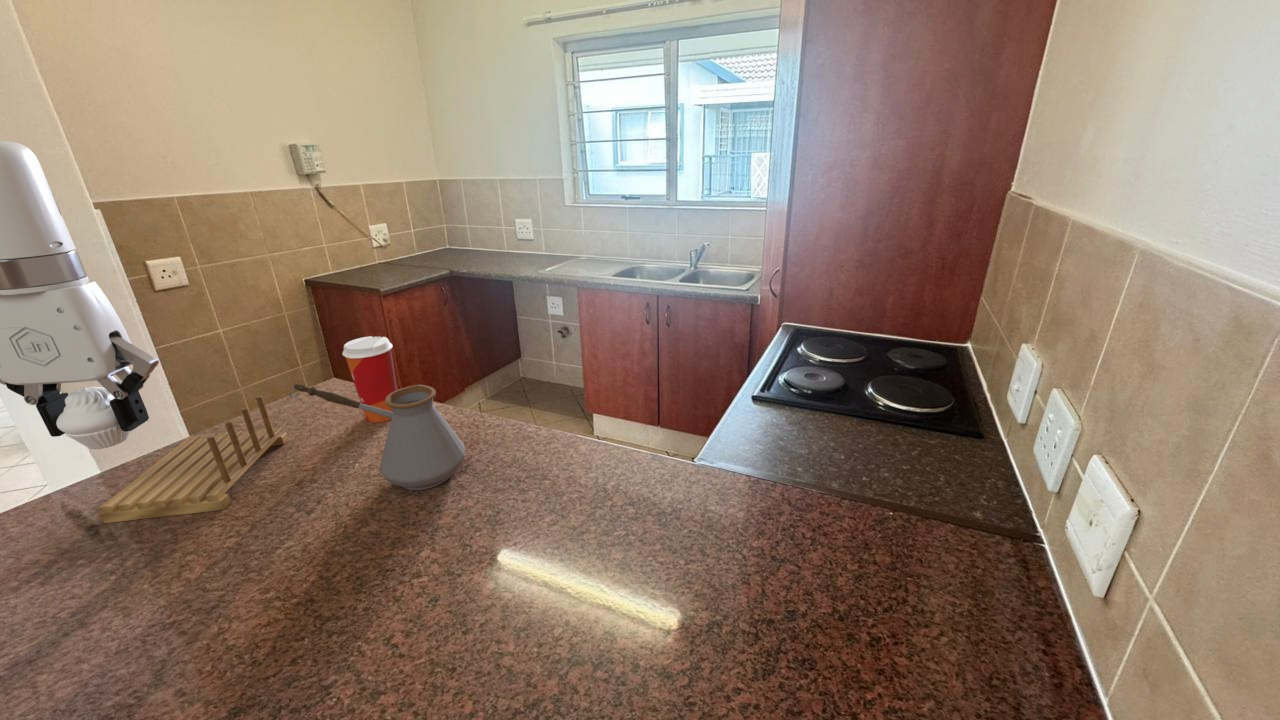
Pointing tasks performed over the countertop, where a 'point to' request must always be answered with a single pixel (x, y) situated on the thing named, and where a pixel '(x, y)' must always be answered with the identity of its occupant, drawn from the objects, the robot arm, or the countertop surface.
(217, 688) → the countertop surface
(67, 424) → the muffin
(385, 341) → the paper cup
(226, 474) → the rack
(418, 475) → the coffee pot
